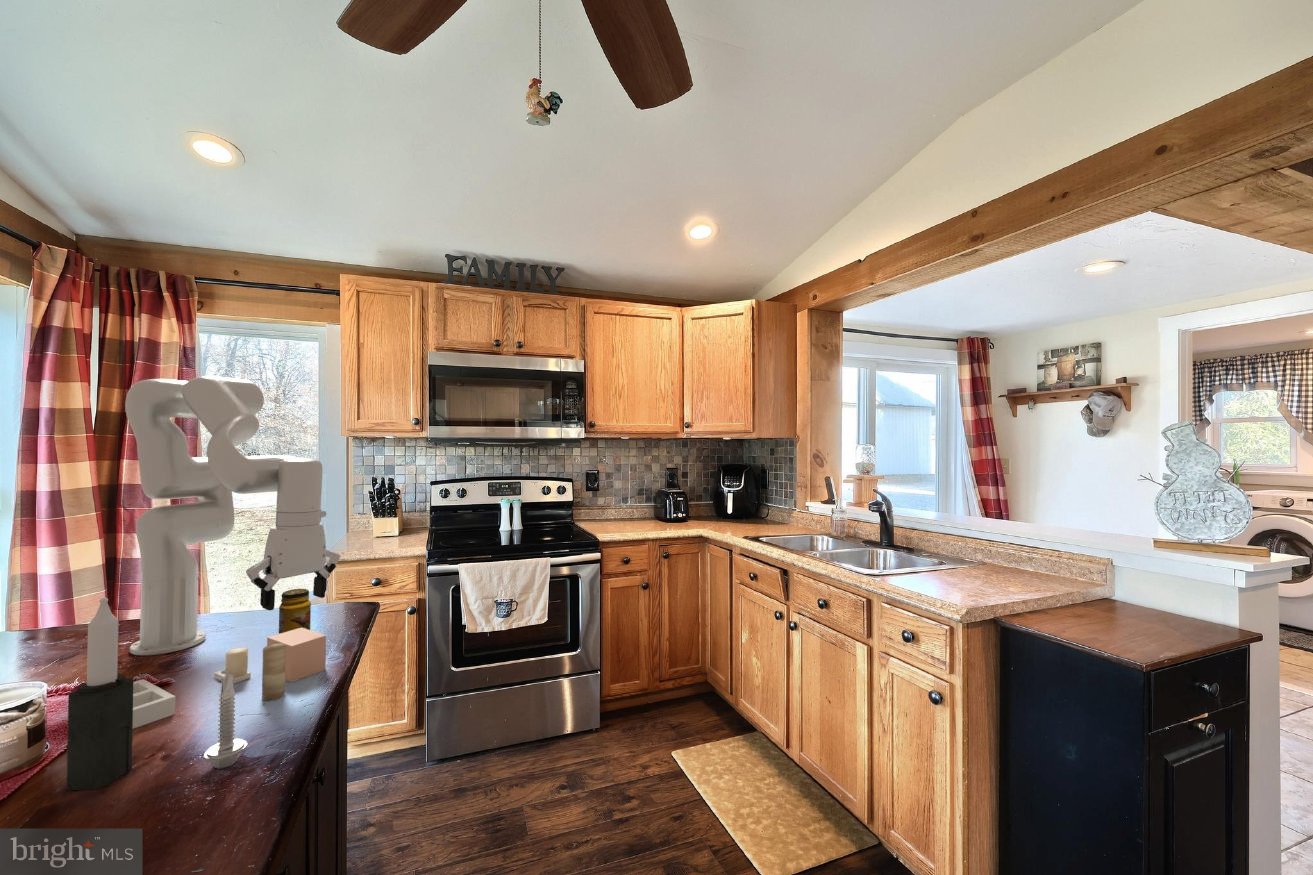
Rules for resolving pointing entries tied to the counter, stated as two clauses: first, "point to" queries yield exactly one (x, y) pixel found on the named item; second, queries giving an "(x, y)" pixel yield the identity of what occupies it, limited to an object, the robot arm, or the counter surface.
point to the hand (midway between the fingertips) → (294, 602)
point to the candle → (100, 711)
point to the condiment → (294, 610)
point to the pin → (273, 672)
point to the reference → (235, 665)
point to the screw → (226, 730)
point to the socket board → (150, 703)
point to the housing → (301, 652)
